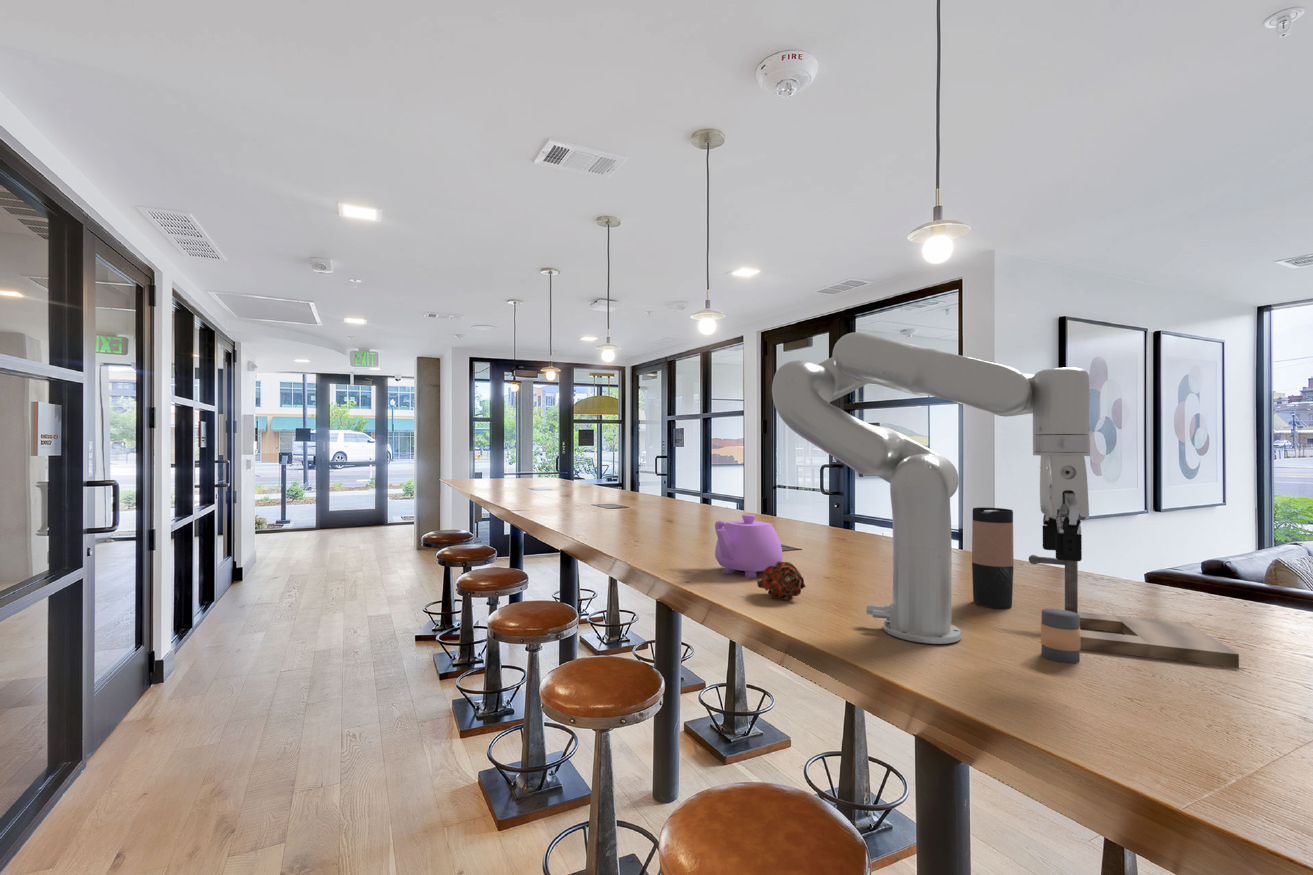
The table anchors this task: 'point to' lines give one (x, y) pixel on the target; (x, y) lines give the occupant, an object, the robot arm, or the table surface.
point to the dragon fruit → (782, 580)
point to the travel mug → (992, 557)
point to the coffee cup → (1060, 635)
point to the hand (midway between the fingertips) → (1061, 554)
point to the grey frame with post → (1140, 631)
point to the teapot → (747, 546)
